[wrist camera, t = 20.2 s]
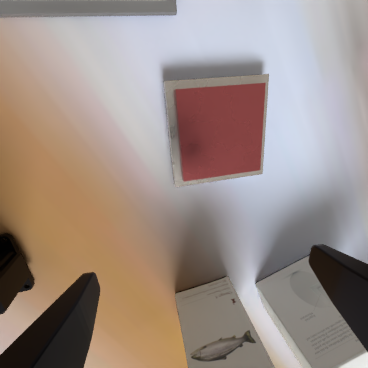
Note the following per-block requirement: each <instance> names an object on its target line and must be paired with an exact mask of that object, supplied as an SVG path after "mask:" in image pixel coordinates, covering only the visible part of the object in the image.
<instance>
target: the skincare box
mask: <svg viewBox="0 0 368 368" xmlns="http://www.w3.org/2000/svg"><path fill="white" fill-rule="evenodd" d="M308 260H309V256H307V257H305V258H303V259H301V260H299V261H297V262H295V263H293V264H292V265H290V266H288V267H286V268H284V269H282V270H280V271H278V272H276V273H274V274H273V275H271V276H269V277H267V278H265V279H263V280H261V281H259V282H257V283H256V287H257V290H258V293H259V295H260V298H261V301H262V303H263V306H264V308H265V310H266V311H267V313H268V315H269V316H270V318H271V319H272V321H273V323H274V324H275V326H276V327H277V329H278V330H279V332H280V334H281V335H282V337H283V338H284V340H285V342H286V343H287V345H288V346H289V348H290V349H291V351H292V352H293V354H294V356H295V357H296V359H297V360H298V362H299V363H300V365H301V367H302V368H368V352H367V351H366V349H365V348H364V347H363V345H362V344H361V342H360V341H359V340H358V338H357V337H356V335H355V334H354V333H353V331H352V330H351V328H350V327H349V326H348V324H347V323H346V321H345V320H344V319H343V317H342V316H341V314H340V313H339V312H338V310H337V309H336V308H335V306H334V305H333V303H332V302H331V300H330V299H329V297H328V295H327V294H326V292H325V290H324V289H323V287H322V285H321V284H320V282H319V280H318V279H317V277H316V275H315V274H314V272H313V270H312V269H311V267H310V265H309V261H308Z"/></svg>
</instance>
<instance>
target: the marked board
mask: <svg viewBox="0 0 368 368" xmlns="http://www.w3.org/2000/svg"><path fill="white" fill-rule="evenodd" d="M176 13H177V8H176V0H0V17H58V16H146V15H176Z"/></svg>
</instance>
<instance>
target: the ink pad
mask: <svg viewBox="0 0 368 368" xmlns="http://www.w3.org/2000/svg"><path fill="white" fill-rule="evenodd" d="M268 81H269V74H264V75H248V76H233V77H218V78H202V79H187V80H171V81H164V82H163V86H164V95H165V104H166V114H167V123H168V132H169V141H170V151H171V160H172V169H173V179H174V185H175V187H180V186H187V185H193V184H200V183H206V182H213V181H219V180H226V179H232V178H239V177H245V176H252V175H259V174H262V172H263V157H264V142H265V127H266V111H267V96H268Z"/></svg>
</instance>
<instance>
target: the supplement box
mask: <svg viewBox="0 0 368 368" xmlns="http://www.w3.org/2000/svg"><path fill="white" fill-rule="evenodd" d="M175 299H176V305H177V310H178V315H179V320H180V326H181V331H182V336H183V342H184V347H185V353H186V358H187V364H188V368H275V367H274V365H273V363H272V361H271V359H270V357H269V355H268V353H267V351H266V349H265V347H264V346H263V344H262V342H261V340H260V338H259V336H258V334H257V332H256V330H255V328H254V326H253V324H252V322H251V320H250V318H249V316H248V315H247V313H246V311H245V309H244V307H243V305H242V303H241V301H240V299H239V297H238V295H237V293H236V291H235V289H234V287H233V285H232V283H231V281H230V279H229V277H228V276H226V277H224V278H222V279H219V280H216V281H214V282H211V283H208V284H205V285H202V286H198V287H195V288H192V289H189V290H186V291H182V292H178V293H176V294H175Z"/></svg>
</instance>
